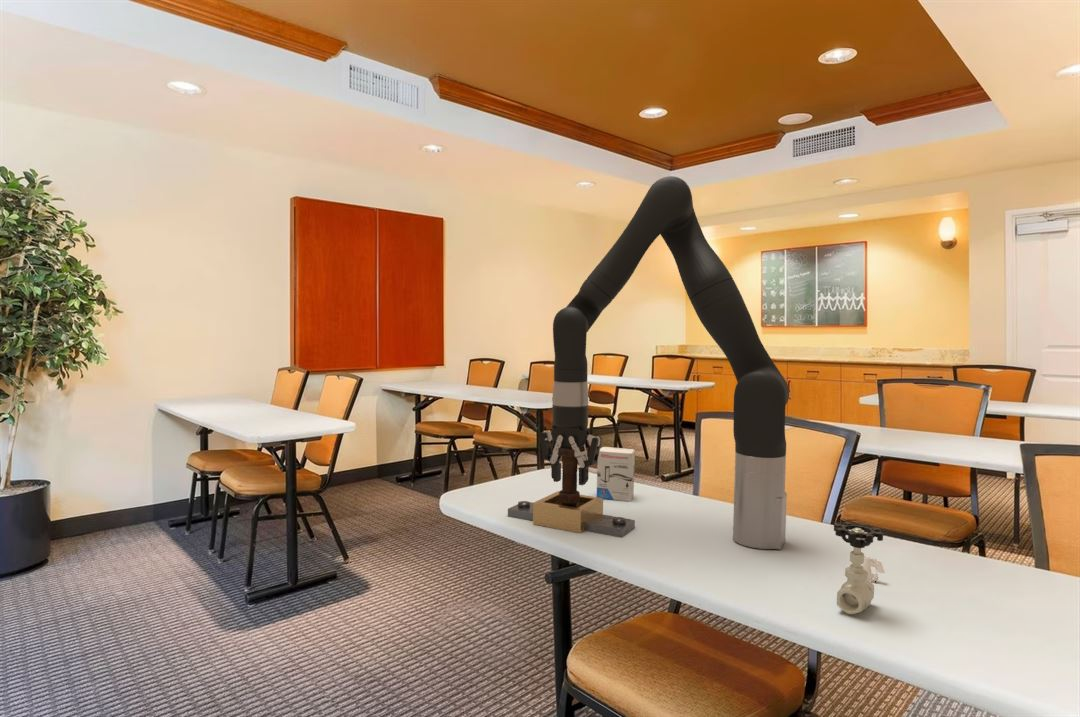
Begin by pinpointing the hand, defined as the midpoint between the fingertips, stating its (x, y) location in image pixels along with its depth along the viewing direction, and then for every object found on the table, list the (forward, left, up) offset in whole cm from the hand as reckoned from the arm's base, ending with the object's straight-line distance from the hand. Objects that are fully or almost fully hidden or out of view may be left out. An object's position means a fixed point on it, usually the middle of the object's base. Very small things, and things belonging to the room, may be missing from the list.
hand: (569, 482), depth 132 cm
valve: (-55, +15, -9) cm, 58 cm away
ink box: (-1, -23, -9) cm, 25 cm away
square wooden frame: (0, 0, -8) cm, 8 cm away
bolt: (0, 0, -8) cm, 8 cm away
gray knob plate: (-9, 0, -8) cm, 12 cm away
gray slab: (+9, 0, -8) cm, 12 cm away
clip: (-56, +2, -9) cm, 57 cm away
